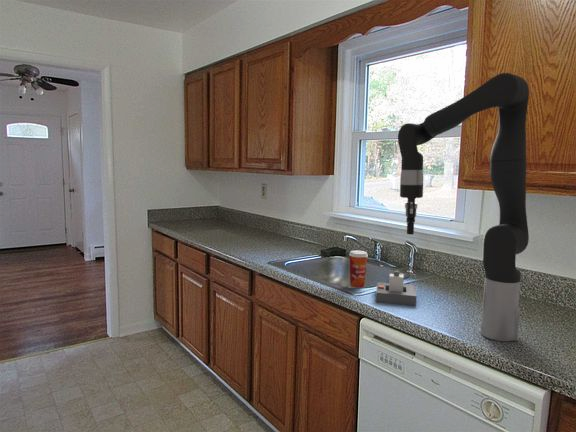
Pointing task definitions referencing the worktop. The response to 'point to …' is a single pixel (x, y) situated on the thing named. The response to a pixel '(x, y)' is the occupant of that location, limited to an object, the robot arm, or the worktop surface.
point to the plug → (396, 282)
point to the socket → (396, 294)
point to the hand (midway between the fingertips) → (410, 233)
